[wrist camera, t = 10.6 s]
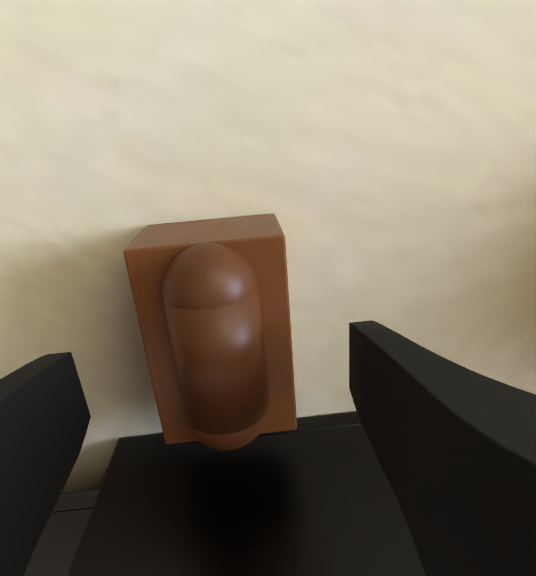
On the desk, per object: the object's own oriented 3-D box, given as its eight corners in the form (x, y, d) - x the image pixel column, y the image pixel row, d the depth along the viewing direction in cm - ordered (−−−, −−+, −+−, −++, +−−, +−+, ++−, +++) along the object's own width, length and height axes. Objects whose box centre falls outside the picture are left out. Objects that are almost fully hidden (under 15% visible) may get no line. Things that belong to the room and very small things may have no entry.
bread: (286, 376, 16) (303, 462, 12) (178, 388, 15) (157, 479, 11) (274, 213, 13) (291, 248, 9) (146, 224, 13) (106, 266, 9)
